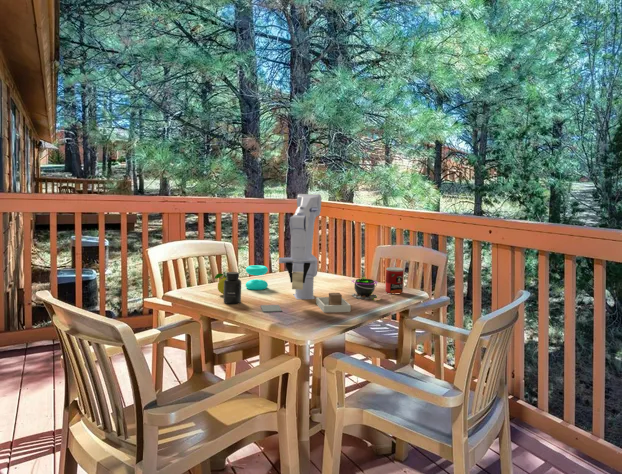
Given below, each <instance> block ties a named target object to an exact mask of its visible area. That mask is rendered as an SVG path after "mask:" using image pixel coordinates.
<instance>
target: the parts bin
mask: <svg viewBox="0 0 622 474" xmlns="http://www.w3.org/2000/svg"><path fill="white" fill-rule="evenodd" d="M315 298H316V299H315V304H316V305H317V306H318V308H319V309H320V310H321V312H323V313H350V312H351V308H352V306H351V304H350V303H349V302H348V301H347V300H345V298H343V297H342V303H341V305H329V296H320V297H318V296H317V297H315Z"/></svg>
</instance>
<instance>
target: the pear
mask: <svg viewBox="0 0 622 474" xmlns="http://www.w3.org/2000/svg"><path fill="white" fill-rule="evenodd" d="M225 273H226V271H224V272H223V273H220V272H219V273H217V274H216V275H215V276H214V279H216V280H217V279H219V281H218V282H217V291H218V293H221V294H222V295H223V296H224V281H225V280H226V279H227V275H225Z"/></svg>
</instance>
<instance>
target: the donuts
mask: <svg viewBox="0 0 622 474" xmlns="http://www.w3.org/2000/svg"><path fill="white" fill-rule="evenodd" d="M245 272H246V273H247V274H248V275H251V276H263V275H265V274H267V273H268V272H269V268H268V267H267V266H265V265H260V264H257V265H256V264H255V265H248V266H247V267H246V268H245ZM245 287H246V288H247V289H248V290H250V291H251V290H252V291H261V290H263V291H264V290H265V289H267V288H268V283H267V281H265V280H263V279H250V280H248V281H247V282H246V283H245Z"/></svg>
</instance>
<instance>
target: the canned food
mask: <svg viewBox="0 0 622 474" xmlns="http://www.w3.org/2000/svg"><path fill="white" fill-rule="evenodd" d="M384 288H385V293H386V292H387V293H386V294H388V293H403V288H404V268H402V267H395V266H391V267H386V269H385V287H384Z"/></svg>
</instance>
